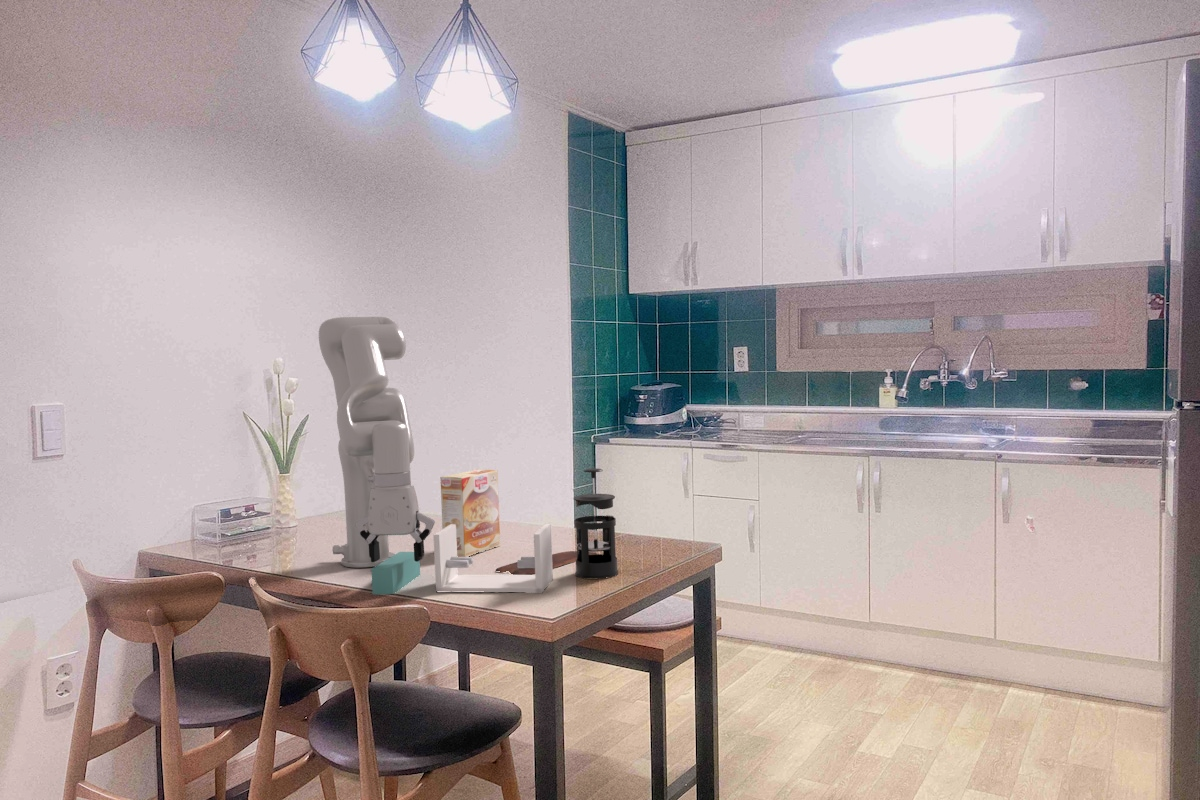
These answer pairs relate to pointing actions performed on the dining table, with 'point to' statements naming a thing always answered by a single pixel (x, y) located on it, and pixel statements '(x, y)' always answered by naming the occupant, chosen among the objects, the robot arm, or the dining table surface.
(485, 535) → the coffeecake box
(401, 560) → the plank
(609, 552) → the french press
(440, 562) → the peg frame
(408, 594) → the dining table surface
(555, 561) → the wooden tablet
